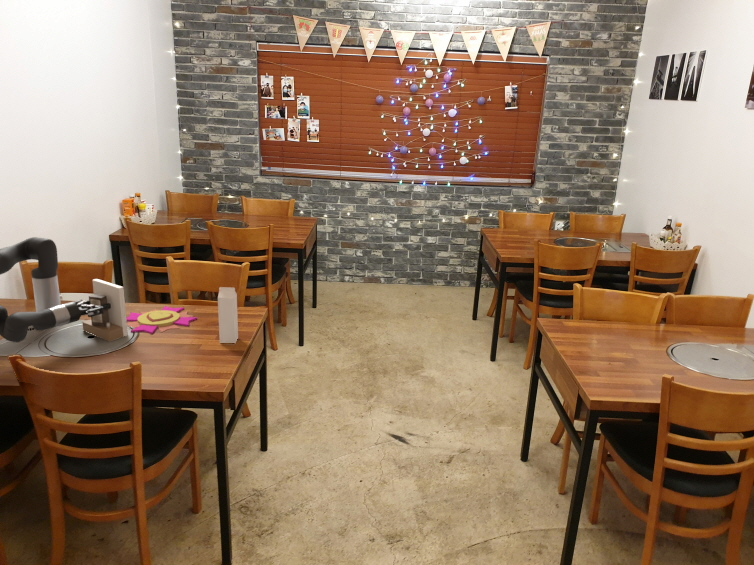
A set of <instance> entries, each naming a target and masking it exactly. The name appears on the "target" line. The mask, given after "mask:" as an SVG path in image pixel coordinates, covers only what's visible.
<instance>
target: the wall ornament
mask: <svg viewBox="0 0 754 565" xmlns="http://www.w3.org/2000/svg"><path fill="white" fill-rule="evenodd" d="M181 310H182V311H181ZM183 310H185V307H170V306H166V305H164V306H163V308H162V309H160V310H158V308H155V309H152V310H149V311H138V312H131V311H130V313H129V316H126V319H127V326H128V325H129V326H128V327H131V326H132V327H134V328H133V329H130V333H141V332H143V333H147V334H150V335H153V333H155V331H156V330H157V329H158V330H159V332H160V333H163V332H165V331H168V330H173V329H174V330H175V329H176V330H178V329H179V328H180V327H179V326H181V325H183V326H182V327H188V326H190V323H191V322H194V321H196V319H197V320H198V317H197V316H195V315H191V314H188V312H187V311H188V310H186V311H183ZM194 316H195V317H194ZM193 320H194V321H193ZM190 321H191V322H190ZM175 324H176V325H175ZM135 331H136V332H135Z"/></svg>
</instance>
